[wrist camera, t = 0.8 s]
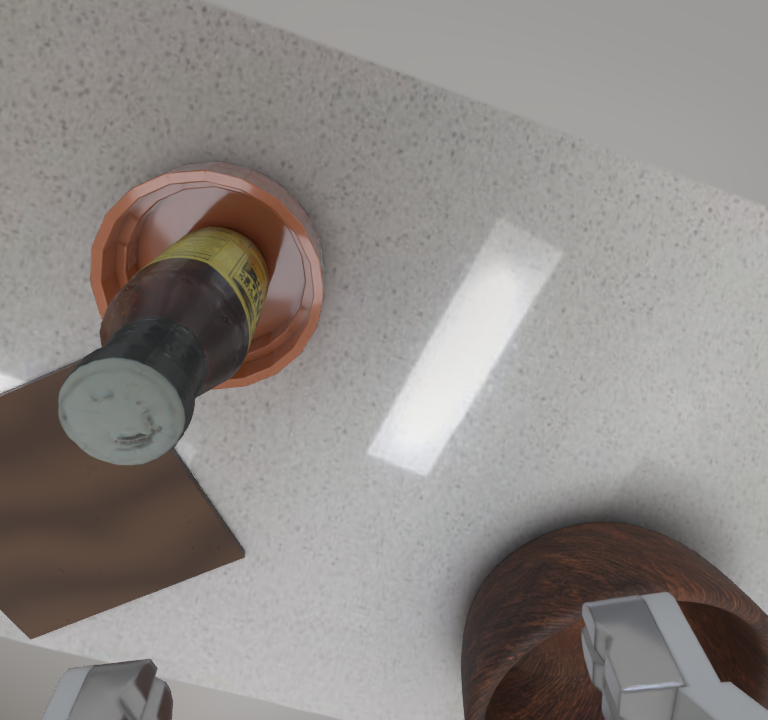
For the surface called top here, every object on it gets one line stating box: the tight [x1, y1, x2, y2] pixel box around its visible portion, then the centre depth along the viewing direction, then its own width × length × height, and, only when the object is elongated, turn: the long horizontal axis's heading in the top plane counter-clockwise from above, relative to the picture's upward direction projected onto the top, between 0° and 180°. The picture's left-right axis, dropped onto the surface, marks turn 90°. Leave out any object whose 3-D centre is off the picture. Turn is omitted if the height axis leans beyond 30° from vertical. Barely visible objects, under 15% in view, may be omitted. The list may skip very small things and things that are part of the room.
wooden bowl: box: [461, 522, 768, 720], centre depth 48 cm, size 25×25×10 cm
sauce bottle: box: [58, 226, 269, 465], centre depth 27 cm, size 6×6×20 cm
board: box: [0, 360, 245, 639], centre depth 43 cm, size 20×20×1 cm
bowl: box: [90, 161, 324, 389], centre depth 35 cm, size 13×13×5 cm
